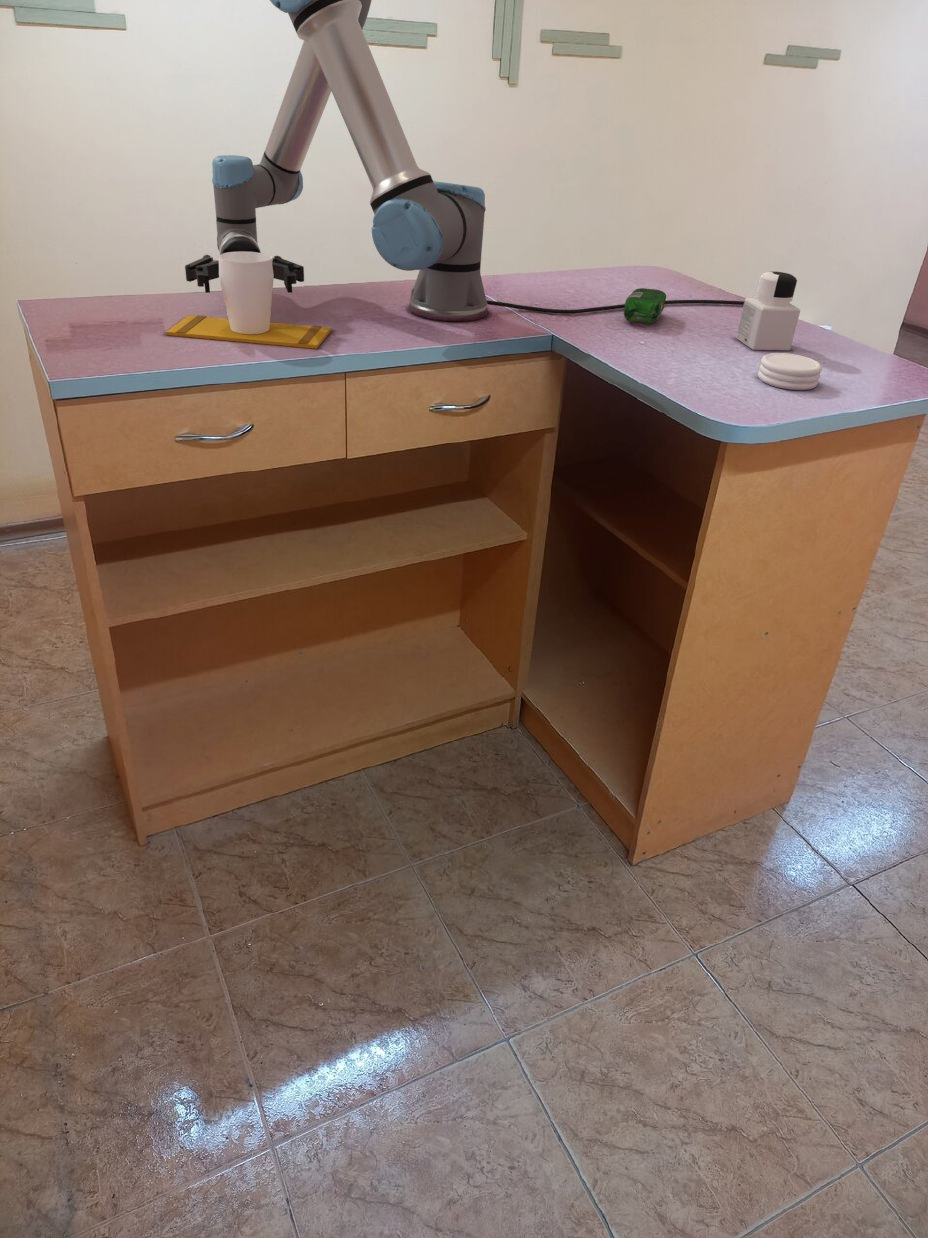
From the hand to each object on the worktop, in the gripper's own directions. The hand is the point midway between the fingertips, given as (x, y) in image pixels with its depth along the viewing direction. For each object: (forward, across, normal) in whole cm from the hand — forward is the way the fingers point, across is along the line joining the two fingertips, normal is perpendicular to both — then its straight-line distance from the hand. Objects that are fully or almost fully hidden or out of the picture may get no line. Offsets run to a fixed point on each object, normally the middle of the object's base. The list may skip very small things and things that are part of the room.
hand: (248, 284), depth 151 cm
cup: (-2, 0, -8) cm, 8 cm away
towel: (-2, 0, -9) cm, 9 cm away
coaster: (+31, -87, -9) cm, 93 cm away
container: (+10, -95, -9) cm, 96 cm away
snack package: (-8, -78, -9) cm, 79 cm away
